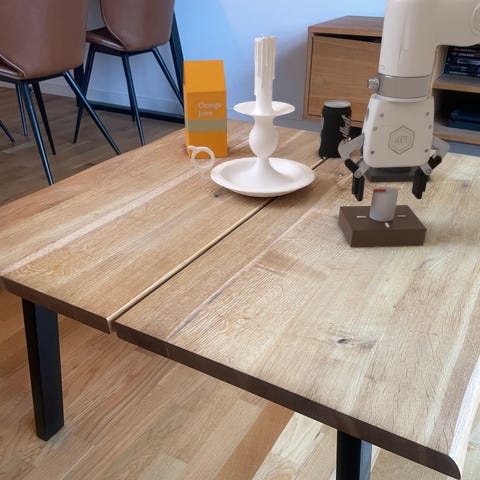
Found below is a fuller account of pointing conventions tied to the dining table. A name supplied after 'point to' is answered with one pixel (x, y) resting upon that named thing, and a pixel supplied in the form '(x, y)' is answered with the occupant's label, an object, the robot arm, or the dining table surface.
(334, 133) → the beverage can
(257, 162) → the candlestick
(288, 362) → the dining table surface
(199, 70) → the orange juice
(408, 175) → the dark grey device base
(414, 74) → the robot arm
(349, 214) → the panel
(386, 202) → the warmer dial
